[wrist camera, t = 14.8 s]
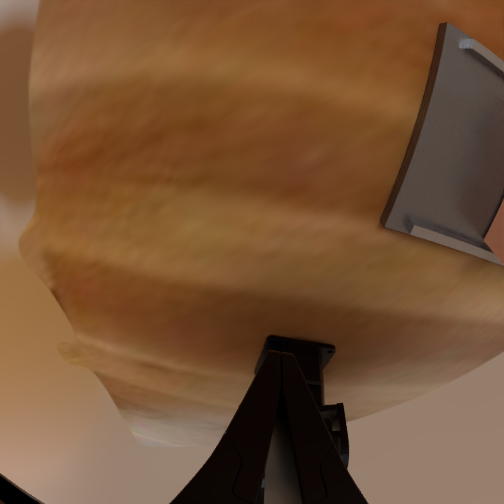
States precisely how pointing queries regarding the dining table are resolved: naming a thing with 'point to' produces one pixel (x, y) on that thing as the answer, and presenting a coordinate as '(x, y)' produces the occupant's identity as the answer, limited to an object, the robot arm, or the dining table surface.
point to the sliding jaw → (497, 234)
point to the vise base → (454, 150)
